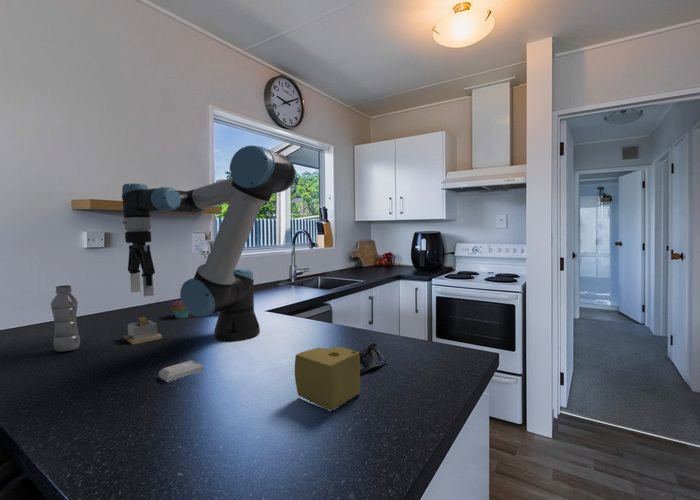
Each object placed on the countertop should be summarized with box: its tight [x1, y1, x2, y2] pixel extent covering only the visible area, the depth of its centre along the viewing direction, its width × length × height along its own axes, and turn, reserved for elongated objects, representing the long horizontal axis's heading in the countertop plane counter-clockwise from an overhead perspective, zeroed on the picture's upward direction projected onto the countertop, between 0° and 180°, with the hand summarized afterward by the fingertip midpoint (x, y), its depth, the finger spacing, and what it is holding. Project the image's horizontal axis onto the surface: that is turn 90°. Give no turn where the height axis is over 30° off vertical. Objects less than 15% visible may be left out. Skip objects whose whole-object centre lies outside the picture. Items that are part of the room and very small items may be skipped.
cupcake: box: [170, 299, 190, 319], centre depth 151 cm, size 9×8×12 cm
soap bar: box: [158, 359, 204, 383], centre depth 91 cm, size 5×9×3 cm, turn 139°
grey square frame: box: [127, 319, 158, 340], centre depth 122 cm, size 7×7×4 cm
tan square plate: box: [123, 316, 163, 345], centre depth 122 cm, size 9×9×7 cm
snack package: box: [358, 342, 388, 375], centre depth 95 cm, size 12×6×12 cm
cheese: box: [294, 346, 361, 410], centre depth 78 cm, size 10×11×10 cm
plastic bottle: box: [50, 284, 81, 353], centre depth 110 cm, size 6×7×20 cm
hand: (142, 293), depth 121 cm, fingers open, 13 cm apart
